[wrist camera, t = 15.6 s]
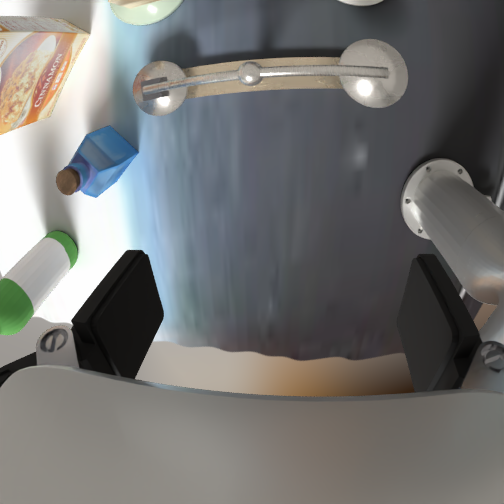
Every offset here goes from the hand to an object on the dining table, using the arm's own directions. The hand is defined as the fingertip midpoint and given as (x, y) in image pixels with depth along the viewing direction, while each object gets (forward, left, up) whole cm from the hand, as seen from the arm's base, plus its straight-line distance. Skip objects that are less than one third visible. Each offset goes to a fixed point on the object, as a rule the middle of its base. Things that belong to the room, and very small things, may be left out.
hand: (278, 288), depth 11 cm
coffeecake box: (+32, -15, -32) cm, 48 cm away
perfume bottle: (+24, +1, -32) cm, 40 cm away
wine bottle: (+40, +16, -32) cm, 54 cm away
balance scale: (+2, -7, -32) cm, 33 cm away
